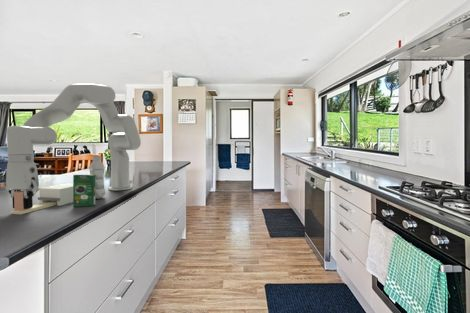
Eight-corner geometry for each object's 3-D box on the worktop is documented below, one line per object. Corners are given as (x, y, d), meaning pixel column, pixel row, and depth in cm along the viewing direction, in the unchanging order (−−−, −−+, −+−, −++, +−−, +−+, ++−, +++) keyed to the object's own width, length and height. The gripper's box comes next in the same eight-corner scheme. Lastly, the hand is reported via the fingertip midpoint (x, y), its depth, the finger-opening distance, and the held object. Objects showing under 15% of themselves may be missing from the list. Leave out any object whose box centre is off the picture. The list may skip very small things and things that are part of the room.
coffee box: (96, 204, 116) (95, 174, 115) (94, 206, 113) (93, 174, 112) (75, 205, 114) (74, 174, 114) (73, 207, 111) (72, 175, 111)
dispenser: (66, 198, 129) (65, 183, 129) (84, 198, 127) (84, 184, 127) (38, 205, 115) (37, 188, 114) (58, 206, 113) (58, 189, 112)
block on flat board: (54, 202, 119) (53, 184, 119) (63, 203, 119) (62, 184, 118) (11, 213, 101) (10, 192, 100) (21, 214, 100) (20, 192, 99)
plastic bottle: (86, 199, 126) (85, 156, 125) (97, 196, 132) (96, 155, 131) (97, 200, 124) (96, 156, 123) (108, 197, 130) (107, 155, 129)
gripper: (48, 159, 104) (50, 206, 105) (12, 158, 107) (14, 204, 108) (30, 160, 96) (32, 211, 97) (-9, 159, 100) (-6, 209, 101)
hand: (22, 207), depth 103 cm, fingers closed on block on flat board, 4 cm apart
